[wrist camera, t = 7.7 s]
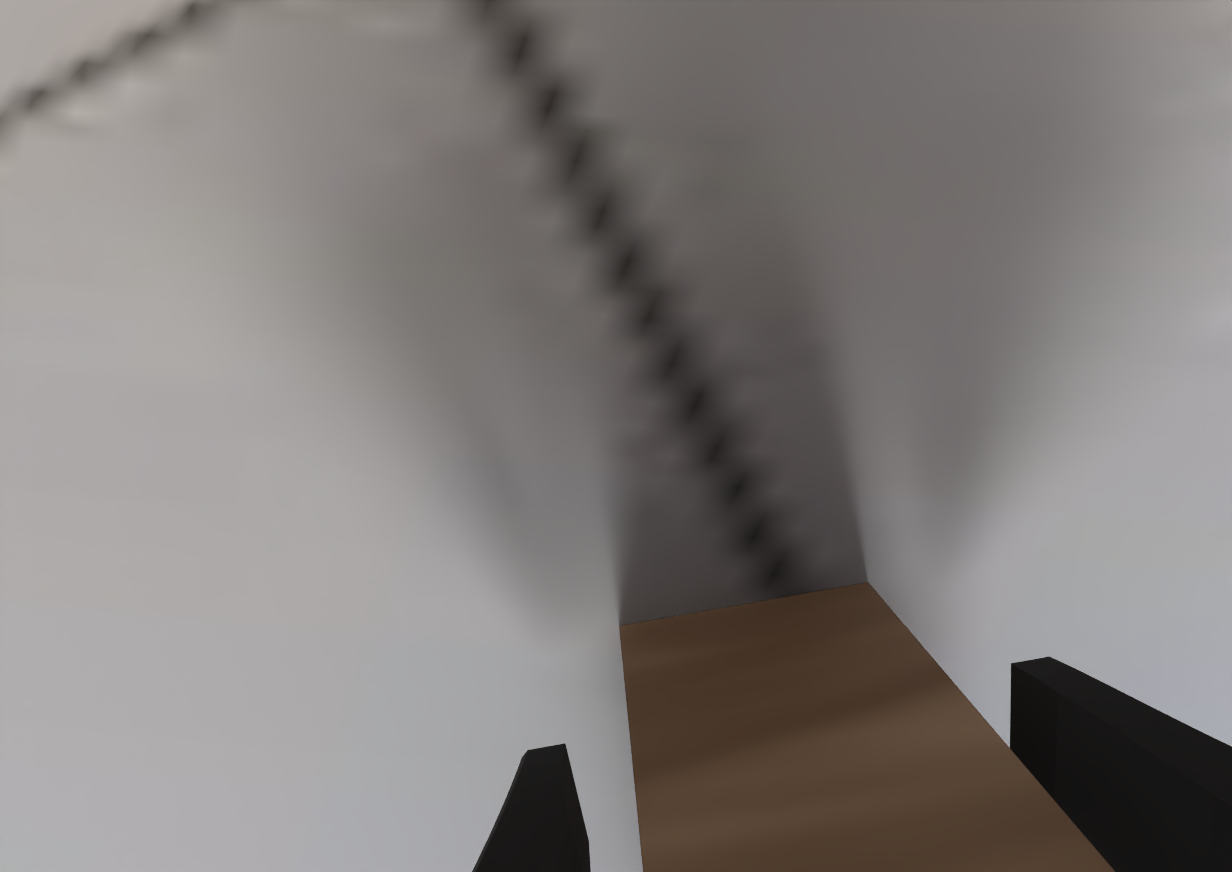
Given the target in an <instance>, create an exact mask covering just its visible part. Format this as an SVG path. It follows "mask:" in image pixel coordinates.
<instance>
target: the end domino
mask: <svg viewBox="0 0 1232 872" xmlns="http://www.w3.org/2000/svg"><path fill="white" fill-rule="evenodd" d="M619 629H620V639H621V650H622V660H623V670H624V680H625V690H626V701H627V711H628V721H629V731H630V741H631V752H632V762H633V772H634V782H635V792H636V803H637V813H638V823H639V833H640V844H641V854H642V864H643V872H1115V871H1114V870H1113V869H1112V868H1111V866H1110V865H1109V864H1108V863H1107V862H1106V860H1105V859H1104V858H1103V857H1102V856H1101V855H1100V853H1099V852H1098V851H1097V850H1096V849H1095V848H1094V846H1093V845H1092V844H1091V843H1090V842H1089V841H1088V839H1087V838H1086V837H1085V836H1084V835H1083V834H1082V832H1081V831H1080V830H1079V829H1078V828H1077V827H1076V825H1075V824H1074V823H1073V822H1072V821H1071V819H1070V818H1069V817H1068V816H1067V815H1066V814H1065V812H1064V811H1063V810H1062V809H1061V808H1060V807H1059V805H1058V804H1057V803H1056V802H1055V801H1054V800H1053V798H1052V797H1051V796H1050V795H1049V794H1048V793H1047V791H1046V790H1045V789H1044V788H1043V787H1042V785H1041V784H1040V783H1039V782H1038V781H1037V780H1036V778H1035V777H1034V776H1033V775H1032V774H1031V773H1030V771H1029V770H1028V769H1027V768H1026V767H1025V766H1024V764H1023V763H1022V762H1021V761H1020V760H1019V759H1018V757H1017V756H1016V755H1015V754H1014V753H1013V752H1012V750H1011V749H1010V748H1009V747H1008V746H1007V744H1006V743H1005V742H1004V741H1003V740H1002V739H1001V737H1000V736H999V735H998V734H997V733H996V732H995V730H994V729H993V728H992V727H991V726H990V725H989V723H988V722H987V721H986V720H985V719H984V718H983V716H982V715H981V714H980V713H979V712H978V711H977V709H976V708H975V707H974V706H973V705H972V703H971V702H970V701H969V700H968V699H967V698H966V696H965V695H964V694H963V693H962V692H961V691H960V689H959V688H958V687H957V686H956V685H955V684H954V682H953V681H952V680H951V679H950V678H949V677H948V675H947V674H946V673H945V672H944V671H943V670H942V668H941V667H940V666H939V665H938V664H937V662H936V661H935V660H934V659H933V658H932V657H931V655H930V654H929V653H928V652H927V651H926V650H925V648H924V647H923V646H922V645H921V644H920V643H919V641H918V640H917V639H916V638H915V637H914V636H913V634H912V633H911V632H910V631H909V630H908V629H907V627H906V626H905V625H904V624H903V623H902V621H901V620H900V619H899V618H898V617H897V616H896V614H895V613H894V612H893V611H892V610H891V609H890V607H889V606H888V605H887V604H886V603H885V602H884V600H883V599H882V598H881V597H880V596H879V595H878V593H877V592H876V591H875V590H874V589H873V587H872V586H871V585H870V584H869V583H868V582H867V583H861V584H855V585H850V586H844V587H838V588H833V589H827V590H821V591H815V592H810V593H804V594H798V595H793V596H787V597H781V598H775V599H770V600H764V601H758V602H753V603H747V604H741V605H736V606H730V607H724V608H718V609H713V610H707V611H701V612H696V613H690V614H684V615H679V616H673V617H667V618H662V619H656V620H650V621H644V622H639V623H633V624H627V625H622V626H619Z"/></svg>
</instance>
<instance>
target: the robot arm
mask: <svg viewBox="0 0 1232 872" xmlns="http://www.w3.org/2000/svg"><path fill="white" fill-rule="evenodd" d="M1010 749H1011V750H1012V752H1013V753H1014V754H1015V755H1016V756H1017V757H1018V759H1019V760H1020V761H1021V762H1022V763H1023V764H1024V766H1025V767H1026V768H1027V769H1028V770H1029V771H1030V773H1031V774H1032V775H1033V776H1034V777H1035V778H1036V780H1037V781H1038V782H1039V783H1040V784H1041V785H1042V787H1043V788H1044V789H1045V790H1046V791H1047V793H1048V794H1049V795H1050V796H1051V797H1052V798H1053V800H1054V801H1055V802H1056V803H1057V804H1058V805H1059V807H1060V808H1061V809H1062V810H1063V811H1064V812H1065V814H1066V815H1067V816H1068V817H1069V818H1070V819H1071V821H1072V822H1073V823H1074V824H1075V825H1076V827H1077V828H1078V829H1079V830H1080V831H1081V832H1082V834H1083V835H1084V836H1085V837H1086V838H1087V839H1088V841H1089V842H1090V843H1091V844H1092V845H1093V846H1094V848H1095V849H1096V850H1097V851H1098V852H1099V853H1100V855H1101V856H1102V857H1103V858H1104V859H1105V860H1106V862H1107V863H1108V864H1109V865H1110V866H1111V868H1112V869H1113V870H1114V871H1115V872H1232V747H1231V746H1229V745H1227V744H1225V743H1223V742H1221V741H1219V740H1217V739H1215V738H1213V737H1211V736H1209V735H1207V734H1205V733H1202V732H1200V731H1198V730H1196V729H1194V728H1192V727H1190V726H1188V725H1186V724H1184V723H1182V722H1180V721H1178V720H1176V719H1174V718H1172V717H1170V716H1168V715H1166V714H1164V713H1162V712H1160V711H1158V710H1156V709H1154V708H1152V707H1150V706H1148V705H1146V704H1144V703H1142V702H1140V701H1138V700H1136V699H1134V698H1133V697H1131V696H1129V695H1127V694H1125V693H1123V692H1121V691H1119V690H1117V689H1115V688H1113V687H1111V686H1109V685H1107V684H1105V683H1103V682H1101V681H1099V680H1097V679H1095V678H1093V677H1091V676H1089V675H1087V674H1085V673H1083V672H1081V671H1079V670H1077V669H1075V668H1072V667H1070V666H1068V665H1066V664H1064V663H1062V662H1060V661H1058V660H1055V659H1053V658H1051V657H1045V658H1039V659H1034V660H1028V661H1023V662H1017V663H1011V718H1010ZM472 872H590V854H589V840H588V836H587V832H586V828H585V824H584V820H583V815H582V811H581V807H580V803H579V799H578V795H577V790H576V786H575V782H574V778H573V774H572V770H571V766H570V761H569V757H568V753H567V749H566V745H565V744H560V745H554V746H549V747H543V748H537V749H532V750H528V751H527V752H526V753H525V754H524V756H523V757H522V759H521V762H520V764H519V767H518V770H517V772H516V775H515V777H514V780H513V782H512V785H511V787H510V790H509V792H508V795H507V797H506V799H505V802H504V804H503V807H502V809H501V811H500V813H499V816H498V818H497V820H496V822H495V825H494V827H493V829H492V831H491V834H490V836H489V838H488V840H487V842H486V844H485V846H484V848H483V850H482V852H481V855H480V857H479V859H478V861H477V863H476V865H475V867H474V869H473V871H472Z"/></svg>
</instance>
